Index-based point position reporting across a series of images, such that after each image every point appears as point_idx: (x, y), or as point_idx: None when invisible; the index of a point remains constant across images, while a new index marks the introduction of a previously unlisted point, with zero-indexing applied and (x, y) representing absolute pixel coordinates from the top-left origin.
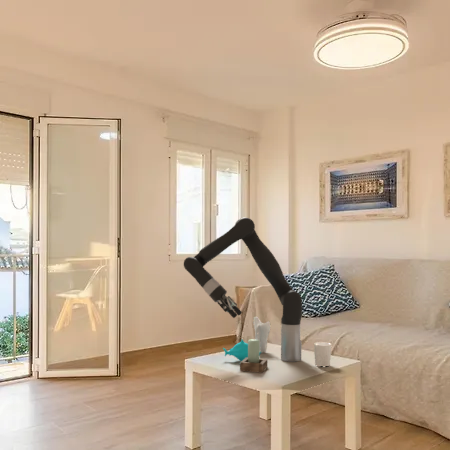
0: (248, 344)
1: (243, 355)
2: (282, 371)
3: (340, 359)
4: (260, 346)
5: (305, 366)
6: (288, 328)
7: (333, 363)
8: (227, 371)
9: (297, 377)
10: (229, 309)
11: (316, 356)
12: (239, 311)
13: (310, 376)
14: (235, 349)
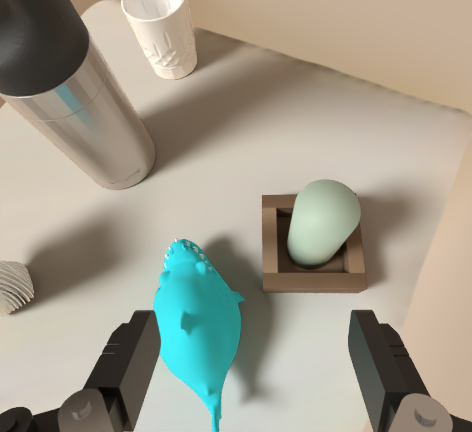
0: (345, 239)
1: (238, 307)
2: (299, 149)
3: None
4: (18, 282)
5: (204, 100)
6: (97, 67)
7: None
8: None
9: (351, 96)
10: (458, 419)
11: (185, 49)
12: (146, 337)
13: (321, 68)
14: (224, 355)
